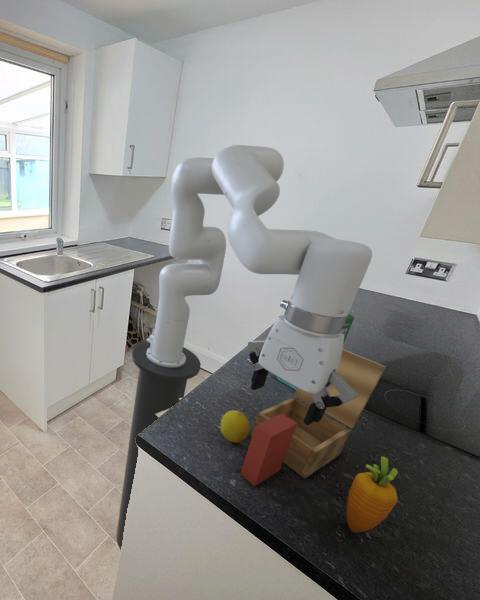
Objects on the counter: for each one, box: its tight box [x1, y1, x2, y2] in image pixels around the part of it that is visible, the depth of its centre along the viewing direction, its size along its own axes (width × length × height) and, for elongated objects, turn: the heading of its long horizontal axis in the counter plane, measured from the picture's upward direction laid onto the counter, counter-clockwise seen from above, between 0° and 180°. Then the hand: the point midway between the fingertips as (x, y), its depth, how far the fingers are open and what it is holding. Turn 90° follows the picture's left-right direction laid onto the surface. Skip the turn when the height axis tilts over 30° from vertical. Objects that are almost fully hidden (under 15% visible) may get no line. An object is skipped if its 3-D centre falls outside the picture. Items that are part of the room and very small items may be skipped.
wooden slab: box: [293, 348, 387, 429], centre depth 67 cm, size 14×12×1 cm
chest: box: [250, 396, 352, 479], centre depth 67 cm, size 14×12×7 cm
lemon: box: [219, 410, 250, 444], centre depth 67 cm, size 6×6×8 cm
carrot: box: [345, 456, 399, 534], centre depth 49 cm, size 5×5×15 cm
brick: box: [239, 413, 297, 487], centre depth 59 cm, size 3×8×12 cm, turn 117°
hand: (281, 403), depth 56 cm, fingers open, 9 cm apart
